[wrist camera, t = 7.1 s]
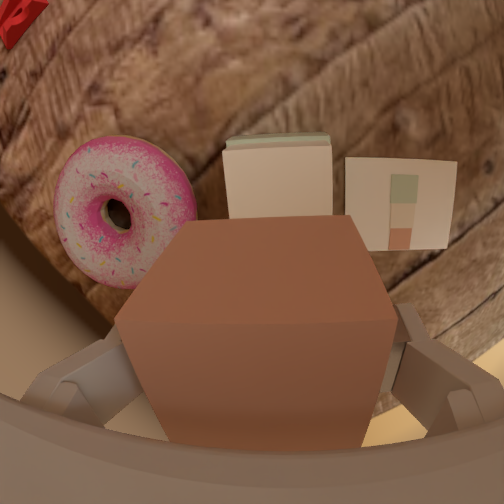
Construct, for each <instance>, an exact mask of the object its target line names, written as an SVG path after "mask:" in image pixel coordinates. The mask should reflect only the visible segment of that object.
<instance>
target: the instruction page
mask: <svg viewBox="0 0 504 504" xmlns="http://www.w3.org/2000/svg"><path fill="white" fill-rule="evenodd" d="M456 175H457V162H456V161H443V160H428V159H408V158H377V157H345V215H350V216H351V218H352V220H353V222H354V224H355V226H356V228H357V230H358V232H359V234H360V236H361V238H362V240H363V242H364V244H365V246H366V248H367V250H368V251H391V250H425V249H447V246H448V240H449V234H450V227H451V220H452V213H453V205H454V196H455V187H456Z"/></svg>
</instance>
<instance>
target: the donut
mask: <svg viewBox="0 0 504 504" xmlns="http://www.w3.org/2000/svg"><path fill="white" fill-rule="evenodd" d="M110 199H115V200H118V201H121V202H123V204H124V205H125V206H126V208H127V209H128V211H129V212H130V216H131V224H132V225H131V227H130V229H127V230H126V229H123V228H120V227H118V226H116V225H115V224H114V223H113V221H112V220H111V219H110V218H109V215H108V208H107V204H108V202H109V200H110ZM54 219H55V224H56V229H57V232H58V235H59V238H60V241H61V243H62V245H63V247H64V249H65V251H66V253H67V255H68V256H69V257H70V259H71V260H72V261H73V263H74V264H75V265H76V266H77V267H78V268H79V269H80V270H81V271H82V272H83V273H84V274H85V275H87V276H88V277H90V278H92V279H93V280H95V281H96V282H99V283H101V284H104V285H106V286H110V287H115V288H120V289H135V288H136V287H137V286H138V284H139V283H140V282H141V280H142V279H143V277H144V276H145V275H146V273H147V272H148V271H149V269H150V268H151V267H152V265H153V264H154V263H155V261H156V260H157V259H158V257H159V256H160V255H161V253H162V252H163V251H164V249H165V248H166V247H167V246H168V244H169V243H170V242H171V240H172V239H173V238H174V236H175V235H176V234H177V233H178V231H179V230H180V229H181V228H182V226H183V225H184V224H185V222H186V221H198V216H197V203H196V199H195V195H194V191H193V188H192V186H191V184H190V182H189V180H188V178H187V176H186V174H185V172H184V171H183V170H182V168H181V167H180V166H179V165H178V164H177V162H176V161H175V160H174V159H173V158H172V157H171V156H169V155H168V154H167V153H166V152H164V151H163V150H162V149H161V148H159V147H158V146H156V145H154V144H152V143H150V142H148V141H146V140H144V139H140V138H137V137H133V136H129V135H110V136H105V137H101V138H97V139H93V140H91V141H89V142H87V143H85V144H84V145H82V146H80V147H79V148H78V149H77V150H76V151H75V152H74V153H73V154H72V155H71V156H70V157H69V159H68V161H67V162H66V164H65V166H64V168H63V170H62V171H61V173H60V175H59V178H58V181H57V185H56V188H55V195H54Z"/></svg>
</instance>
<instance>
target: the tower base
mask: <svg viewBox="0 0 504 504" xmlns="http://www.w3.org/2000/svg"><path fill="white" fill-rule="evenodd" d="M222 156H223V165H224V174H225V183H226V192H227V201H228V210H229V219H237V218H260V217H287V216H320V215H333V182H332V146H331V145H330V135H328V134H327V133H326V132H297V133H274V134H257V135H243V136H233V137H231V138H229V139H228V140H226V149H224V150H223V151H222Z"/></svg>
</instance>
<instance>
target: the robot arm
mask: <svg viewBox="0 0 504 504" xmlns="http://www.w3.org/2000/svg"><path fill="white" fill-rule="evenodd" d="M393 307H394V310H395V312H396V314H397V317H398V322H397V327H396V331H395V336H394V340H393V344H392V348H391V352H390V356H389V360H388V364H387V367H386V371H385V375H384V378H383V382H382V385H381V389H380V392H391V391H392V392H391V393H392V394H393V395H394V396H395V397H396V398H397V399H398V400H399V401H400V402H401V403H402V404H403V405H404V406H405V407H406V408H407V410H409V412H410V413H411V414H412V415H413V416H414V417H415V418H416V419H417V420H418V421H419V422H420V423H421V424H422V425H423V426H424V427H425V428H426V429H427V430H428V432H427V434H426V436H425V437H424V438H422V439H417V440H411V441H406V442H400V443H393V444H385V445H378V446H371V447H360V448H349V449H336V450H318V451H257V450H238V449H225V448H214V447H204V446H196V445H188V444H181V443H174V442H167V441H162V440H156V439H150V438H145V437H140V436H135V435H130V434H126V433H121V432H117V431H113V430H109V429H105V427H104V426H103V425H104V424H106V423H107V422H108V421H109V420H110V419H112V418H113V417H114V416H115V415H116V414H117V413H119V412H120V411H121V410H122V409H123V408H124V407H125V406H127V405H128V404H129V403H130V402H131V401H133V400H134V399H135V398H136V397H137V396H138V395H140V394H141V393H142V392H143V391H144V390H143V388H142V386H141V383H140V381H139V379H138V377H137V375H136V372H135V370H134V368H133V366H132V363H131V361H130V359H129V356H128V354H127V352H126V349H125V347H124V344H123V342H122V339H121V337H120V334H119V332H118V329H117V327H116V324H115V325H114V326H113V328H112V329H111V331H110V332H109V333H108V335H107V336H106V338H105V339H104V340H102V339H100V340H98V341H96V342H94V343H92V344H91V345H89V346H87V347H85V348H83V349H82V350H80V351H78V352H76V353H75V354H73V355H71V356H69V357H67V358H66V359H64V360H62V361H60V362H58V363H57V364H55V365H53V366H51V367H49V368H48V369H46V370H44V371H42V372H40V373H39V374H38V376H37V377H36V378H35V380H34V381H33V382H32V384H31V385H30V387H29V388H28V389H27V391H26V392H25V394H24V395H23V397H22V398H21V400H20V401H18V400H16V399H13V398H11V397H9V396H6V395H4V394H2V393H0V504H504V389H503V387H502V385H501V383H500V381H499V379H497V378H496V377H494V376H493V375H491V374H490V373H488V372H486V371H485V370H483V369H482V368H480V367H479V366H477V365H476V364H474V363H472V362H471V361H469V360H468V359H466V358H465V357H463V356H462V355H460V354H458V353H457V352H455V351H454V350H452V349H451V348H449V347H447V346H446V345H444V344H443V343H441V342H439V341H438V340H436V339H430V337H429V335H428V333H427V331H426V329H425V327H424V325H423V323H422V321H421V319H420V317H419V315H418V313H417V311H416V309H415V307H414V305H413V304H412V303H403V304H394V305H393Z"/></svg>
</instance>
